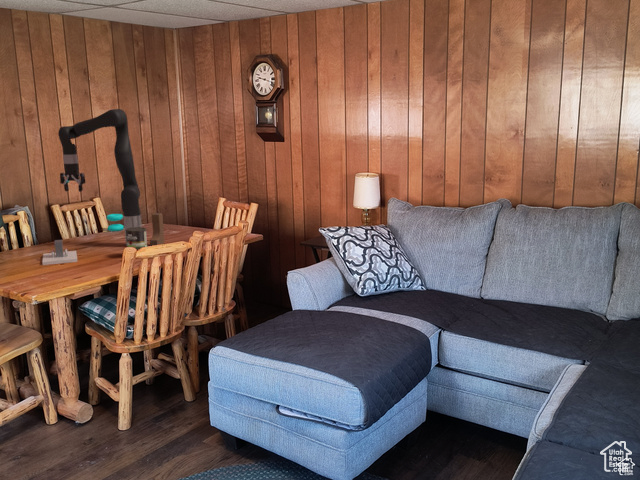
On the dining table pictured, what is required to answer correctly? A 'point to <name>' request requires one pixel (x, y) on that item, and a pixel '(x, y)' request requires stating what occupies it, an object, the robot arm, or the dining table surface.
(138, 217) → the robot arm
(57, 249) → the block
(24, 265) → the dining table surface
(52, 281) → the dining table surface
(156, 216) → the wooden block
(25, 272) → the dining table surface
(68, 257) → the grey peg board
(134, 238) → the coffee can
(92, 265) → the dining table surface
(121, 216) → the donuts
